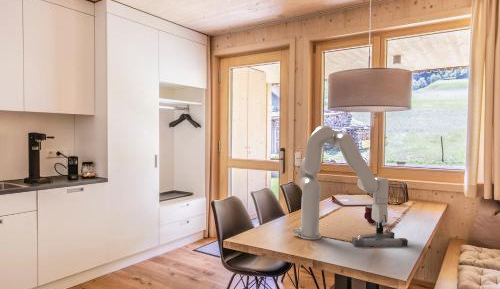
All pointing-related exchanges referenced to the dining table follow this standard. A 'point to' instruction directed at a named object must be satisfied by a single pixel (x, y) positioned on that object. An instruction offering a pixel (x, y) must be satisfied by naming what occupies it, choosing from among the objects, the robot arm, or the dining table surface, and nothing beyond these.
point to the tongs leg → (379, 235)
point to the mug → (368, 214)
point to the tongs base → (379, 242)
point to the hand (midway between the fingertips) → (379, 234)
